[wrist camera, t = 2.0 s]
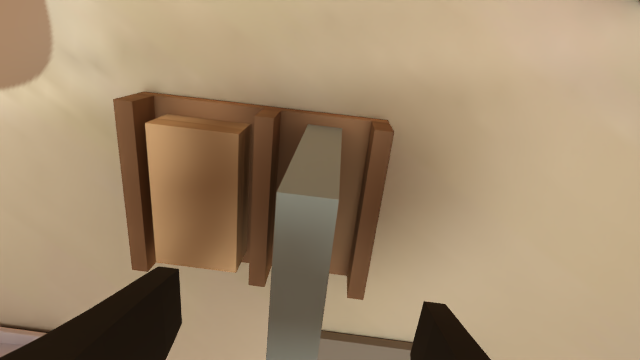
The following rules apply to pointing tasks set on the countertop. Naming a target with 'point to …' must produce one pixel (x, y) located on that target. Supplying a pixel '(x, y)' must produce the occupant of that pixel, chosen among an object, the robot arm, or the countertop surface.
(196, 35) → the countertop surface
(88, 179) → the countertop surface
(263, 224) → the walnut rack
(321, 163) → the grey square slab
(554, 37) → the countertop surface
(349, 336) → the rubber mat
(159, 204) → the upper offcut
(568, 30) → the countertop surface
